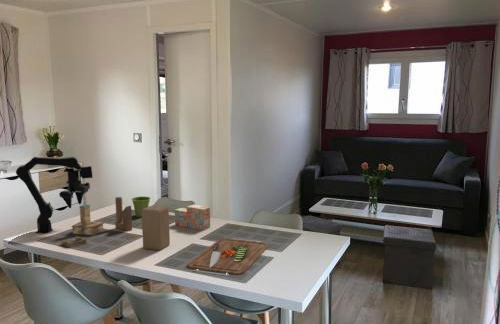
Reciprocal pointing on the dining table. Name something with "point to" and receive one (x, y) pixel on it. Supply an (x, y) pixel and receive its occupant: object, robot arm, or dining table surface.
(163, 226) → the wooden block
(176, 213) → the stack of blocks
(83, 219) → the teal long block
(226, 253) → the chopping board
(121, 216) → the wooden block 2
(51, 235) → the dining table surface
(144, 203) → the plant pot
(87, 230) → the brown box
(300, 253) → the dining table surface
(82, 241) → the frame
